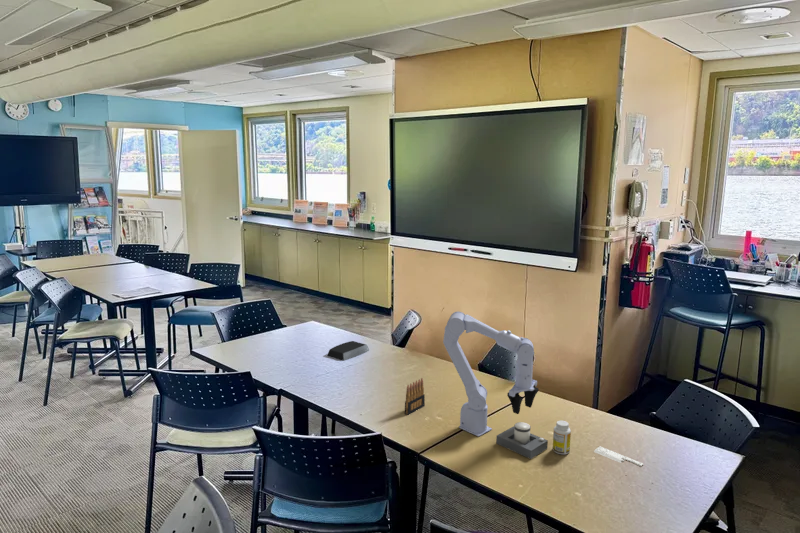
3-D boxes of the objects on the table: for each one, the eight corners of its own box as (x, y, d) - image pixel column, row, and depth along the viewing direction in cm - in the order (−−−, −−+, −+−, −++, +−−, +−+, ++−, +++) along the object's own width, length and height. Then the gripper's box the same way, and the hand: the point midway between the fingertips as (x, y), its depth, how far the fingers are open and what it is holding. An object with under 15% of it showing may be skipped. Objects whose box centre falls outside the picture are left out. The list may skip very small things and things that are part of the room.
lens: (510, 441, 188) (511, 425, 187) (519, 436, 192) (519, 420, 191) (524, 447, 184) (525, 431, 183) (532, 441, 188) (533, 425, 187)
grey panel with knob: (496, 443, 190) (496, 433, 189) (513, 434, 197) (513, 424, 196) (530, 459, 180) (531, 449, 179) (547, 448, 187) (547, 438, 186)
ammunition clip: (421, 404, 220) (421, 376, 218) (424, 406, 219) (425, 377, 217) (404, 413, 212) (404, 384, 210) (408, 415, 211) (408, 385, 209)
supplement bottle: (565, 446, 188) (567, 418, 186) (572, 455, 183) (574, 426, 181) (549, 447, 188) (551, 419, 186) (556, 455, 182) (557, 427, 180)
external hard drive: (370, 351, 284) (370, 344, 283) (344, 362, 268) (344, 354, 268) (351, 346, 291) (351, 339, 291) (325, 356, 276) (325, 348, 276)
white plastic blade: (636, 471, 174) (636, 468, 173) (592, 453, 185) (592, 450, 184) (643, 465, 177) (643, 462, 177) (599, 448, 188) (600, 445, 188)
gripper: (521, 382, 185) (519, 419, 187) (545, 371, 194) (543, 407, 197) (504, 376, 190) (503, 413, 192) (528, 366, 199) (526, 401, 202)
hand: (522, 409), depth 195 cm, fingers open, 7 cm apart
